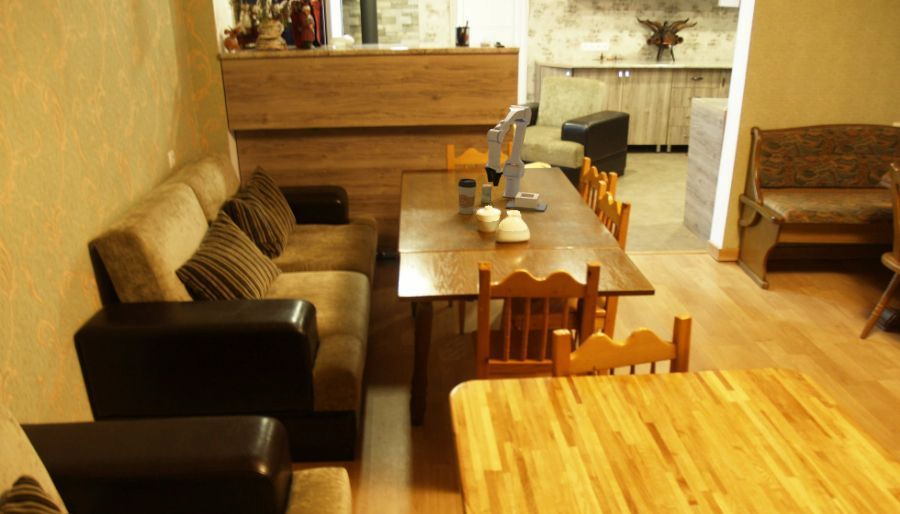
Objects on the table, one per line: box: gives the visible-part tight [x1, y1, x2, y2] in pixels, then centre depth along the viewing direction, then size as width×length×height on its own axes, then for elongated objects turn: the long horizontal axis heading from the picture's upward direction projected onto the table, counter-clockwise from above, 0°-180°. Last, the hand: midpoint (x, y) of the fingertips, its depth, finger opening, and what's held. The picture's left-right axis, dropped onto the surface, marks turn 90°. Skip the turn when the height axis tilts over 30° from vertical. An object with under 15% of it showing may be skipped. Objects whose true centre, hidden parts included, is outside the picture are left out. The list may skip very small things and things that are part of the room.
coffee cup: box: [457, 178, 477, 215], centre depth 312 cm, size 8×8×15 cm
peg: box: [480, 183, 493, 204], centre depth 331 cm, size 4×4×8 cm
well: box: [505, 191, 548, 213], centre depth 326 cm, size 12×18×6 cm, turn 76°
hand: (493, 184), depth 324 cm, fingers open, 7 cm apart
